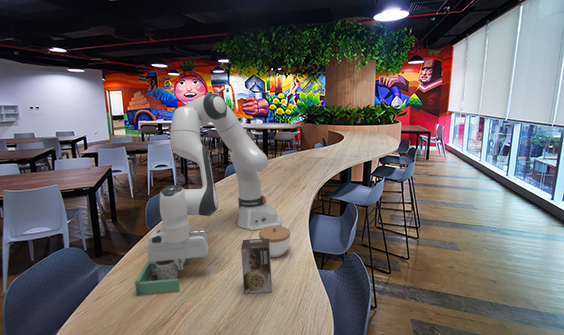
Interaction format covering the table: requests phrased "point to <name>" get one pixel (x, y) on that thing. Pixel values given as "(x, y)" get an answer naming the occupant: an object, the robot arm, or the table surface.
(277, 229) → the lidded bowl
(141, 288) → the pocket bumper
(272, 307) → the table surface
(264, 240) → the brown food box
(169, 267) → the mug
